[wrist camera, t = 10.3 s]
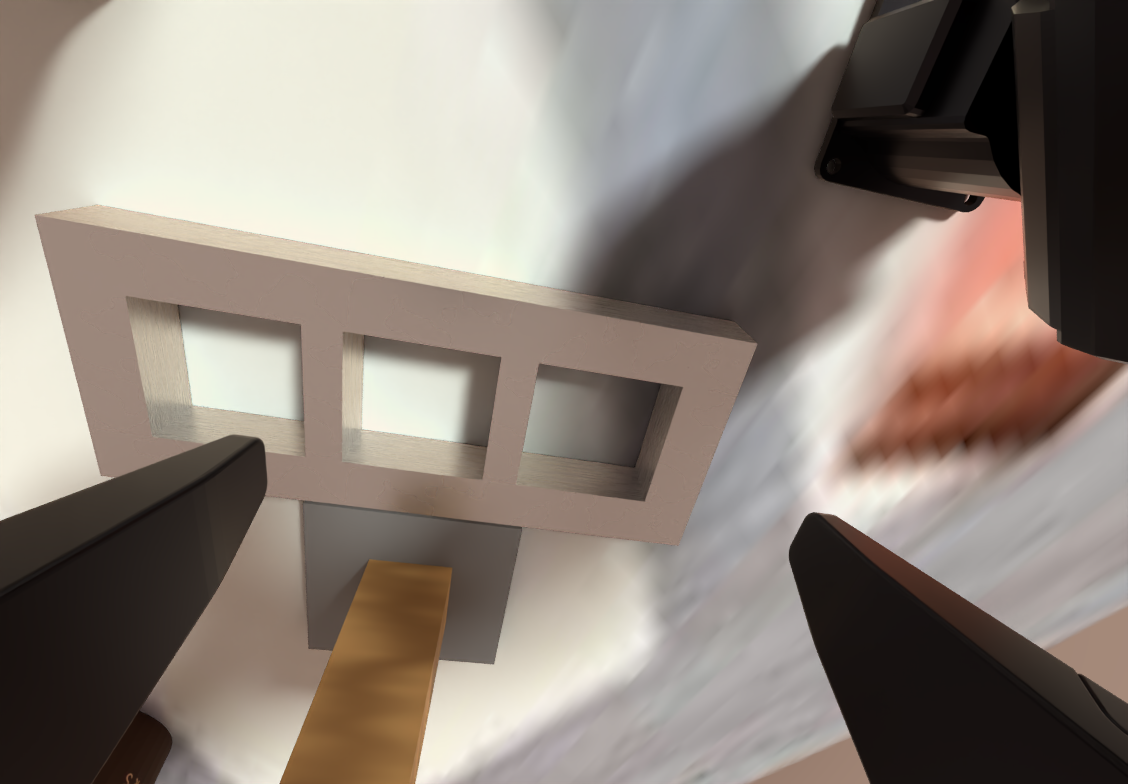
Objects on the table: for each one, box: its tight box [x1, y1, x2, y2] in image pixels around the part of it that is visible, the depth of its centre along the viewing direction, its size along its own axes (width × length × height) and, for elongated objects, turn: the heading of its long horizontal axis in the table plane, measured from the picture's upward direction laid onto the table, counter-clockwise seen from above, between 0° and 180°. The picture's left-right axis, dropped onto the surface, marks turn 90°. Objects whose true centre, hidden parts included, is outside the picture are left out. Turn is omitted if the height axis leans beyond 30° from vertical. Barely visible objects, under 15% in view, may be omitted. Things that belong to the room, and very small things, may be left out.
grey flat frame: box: [35, 205, 758, 546], centre depth 20 cm, size 24×10×2 cm, turn 79°
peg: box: [280, 559, 452, 784], centre depth 21 cm, size 4×4×10 cm
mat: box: [303, 500, 522, 664], centre depth 26 cm, size 10×10×1 cm
